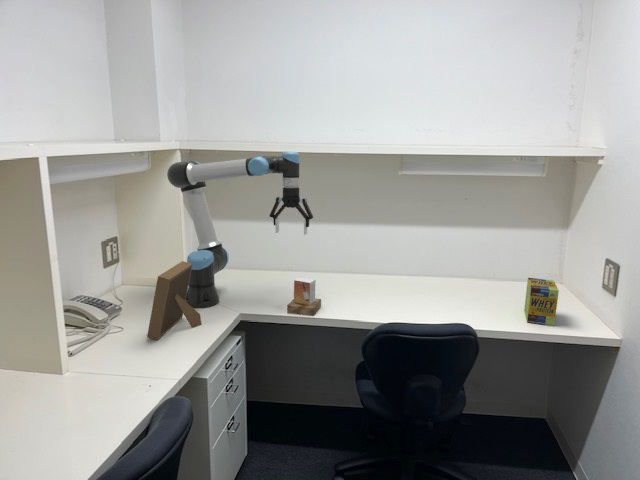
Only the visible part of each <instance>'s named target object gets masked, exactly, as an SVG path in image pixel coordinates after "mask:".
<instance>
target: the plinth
mask: <svg viewBox="0 0 640 480" xmlns="http://www.w3.org/2000/svg"><path fill="white" fill-rule="evenodd" d="M321 307H322V298H316V297H315V302H314V303H312V304H311V305H310V306H308V305H304V304H300V303H294V298H293V299H292V300H290V302H289V303H288V304H287V314H294V315H301V314H302V316H312V317H314V316H315V315H316V314H317V313H318V311H319V309H320V308H321ZM316 312H317V313H316Z"/></svg>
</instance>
